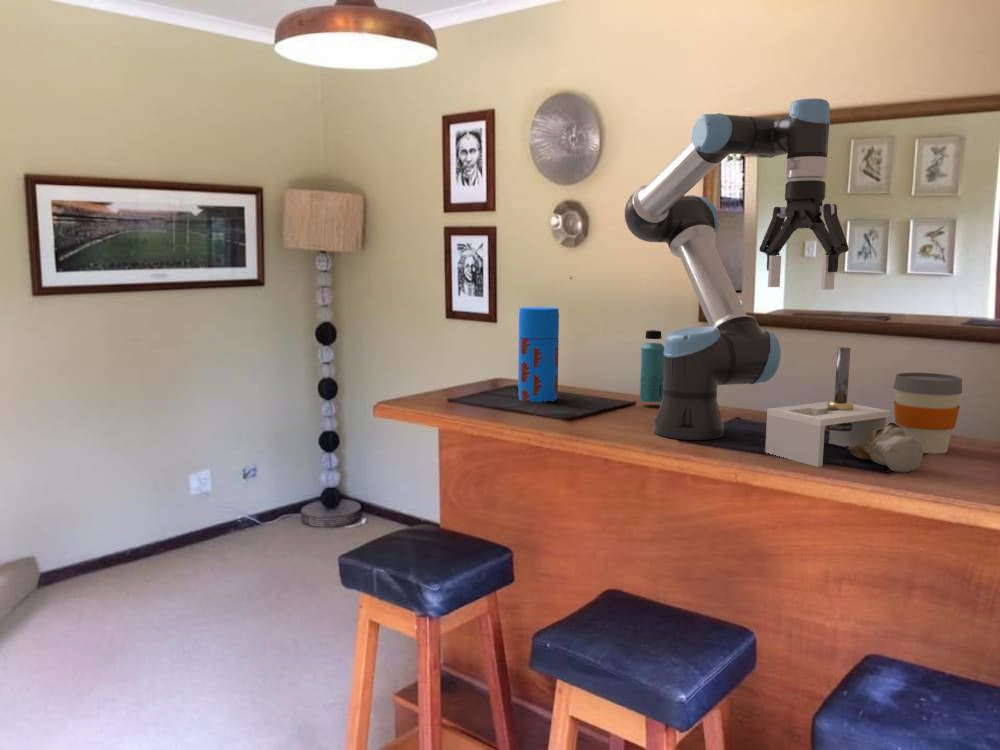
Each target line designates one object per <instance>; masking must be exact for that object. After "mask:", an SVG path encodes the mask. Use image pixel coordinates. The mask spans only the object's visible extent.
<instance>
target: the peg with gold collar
mask: <svg viewBox="0 0 1000 750" xmlns="http://www.w3.org/2000/svg"><path fill="white" fill-rule="evenodd" d="M836 349H837V351H836V363H835V365H836V366H835V367H836V368H835V384H834V398H833V400H828V401H827V402H828V405H827V408H829V409H833V410H835V411H836V410H853V404H855V403H854V402H852V401H849V400H848V392H849V391H848V390H849V379H850V378H849V376H850V364H851V363H850V361H851V347H848V346H838V347H837V348H836ZM825 429H827V430H829V431H830V430H834V431H851V430H852V423H850V422H848V423H840V424H833V425H825Z"/></svg>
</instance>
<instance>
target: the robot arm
mask: <svg viewBox="0 0 1000 750" xmlns="http://www.w3.org/2000/svg"><path fill="white" fill-rule="evenodd" d="M830 109H831V107H830V103H829V101H828V100H826V99H823V98H803V99H796V100H793V101H792V102H791V103H790V105H789V111H788V115H784V116H780V117H765V116H764V117H763V116H761V117H760V116H751V115H750V116H747V115H734V114H723V113H705V114H702V115H700V116H699V117H698V118H697V119H696V121H695V123H694V125H693V127H692V130H691V140H690V142H688V144H686V145H685V146H684V147H683V148H682V150H681V151H680V152H678V154H677V155H676V156H675V157H673V159H672V160H670V162H669V163H667V165H666V166H665V167H664V168H663V169H662V170H661V171H660V172H659V173H658V174H657V175H656V176H655V177H654V178H653V179H652V180H651V181H650V182H649V183H648V184H646V185H642V186H640V187H638V188H637V189H636V190H635V191H634V192H633V193H632V194H631V196H629V198H628V200H627V203H626V204H625V207H624V220H625V223H626V226H627V228H628V230H629V231H630V232H631V234H632V235H633V236H634V237H636V238H637V239H639V240H641V241H644V242H647V243H666V244H667V245H668V248H669V250H670V252H671V254H672V256H675V257H677V258H680V261H681V263H682V266H683V268H684V270H685V272H686V274H687V277H688V279H689V282H690V283H691V286H692V288H693V290H694V293H695V295H696V298H697V300H698V303H699V305H700V307H701V309H702V312H703V314H704V316H705V319H706V321H707V324H708V326H699V327H696V326H693V327H692V326H691V327H685V328H680V329H676V330H673V331H672V330H671V332H669V333H668V334H667V335H666V337H665V340H664V347H665V348H664V383H663V399H662V402H660V406H659V409H658V413H657V416H656V418H655V420H654V421H653V423H654V424H653V433H655V434H656V435H658V436H660V437H661V436H662V437H665V438H669V439H670V438H671V439H677V440H688V441H689V440H691V441H703V440H705V441H706V440H714V439H719V438H721V437H722V438H723V436H724V430H725V429H724V428H725V427H724V422H723V421H722V416H721V412H720V408H719V404H718V386H729V385H731V386H732V385H746V384H749V385H754V384H759V383H760V384H761V383H762V384H763V383H765V382H768V381H769V380H771V379H772V378H773V377H774V376H775V375H776V373H777V371H778V369H779V367H780V360H781V355H782V354H781V353H782V352H781V350H782V349H781V344H780V341H779V339H778V337H777V336H776V335H775V333H773V332H770V331H769V330H764V331H762V329H761V327H760V325H759V322H758V320H757V319H756V318H755V316H752V315H749V314H748V315H747V313H746V311H745V308H743V304H742V303H741V300H740V298H739V296H738V293H737V292H736V289H735V288H734V284H733V283H732V280H731V278H730V276H729V274H728V272H727V270H726V267H725V265H724V263H723V261H722V259H721V257H720V254H719V253H718V250H717V248H716V246H715V243H714V241H715V240H716V237H717V236H716V235H717V233H718V230H719V224H720V223H719V221H718V220H719V213H718V211H717V208H716V206H715V204H714V203H713V201H711V200H710V199H708V198H707V197H704V196H698V195H695V194H692V195H691V194H689V195H686V194H687V193H688V192H689V191H691V190H692V189H693V188H694V187H695V186H696V185H697V184H698V183H699V182H700V181H701V180H702V179H703V178H704V177H706V176H707V175H708V174H709V173H710V172H711V171H712V170H713V169H714V168H716V167H717V166H718V165H719V164H720V163H722V161H724V159H726V158H727V157H728V156H730V155H733V154H734V155H750V156H752V155H753V156H755V157H756V158H761V159H762V158H769V159H771V158H775V157H777V156H783V155H786V175H785V179H786V180H788V182H786V184H785V188H784V189H785V191H784V200H785V201H786V203H787V204H786V206H775V207H774V208H773V212H772V218H771V221H770V223H769V224H768V228H767V230H766V232H765V233H764V234H765V235H764V236H763V238H762V242H761V244H760V246H759V252H760V253H764V254H765V255H766V271H768V275H767V277H768V278H767V287H768V288H781V274H782V273H781V270H782V269H781V268H782V255H781V254H780V252H781V251H782V249H783V247H784V246H786V245H785V244H786V243H787V242H788V240H789V239H790V238H791V237H792V235H793V233H794V232H796V231H797V230H798V229H809V230H811V231H812V232H813V234H814V235H815V237H816V239H817V241H819V243H820V245H821V247H822V249H824V251H825V253H824V255H822V271H821V286H820V290H822V291H823V290H834V289H835V275H836V273H837V272H838V270H839V258H840V255H841V254H843V253H847V252H849V245H848V241H847V239H846V236H845V233H844V230H843V228H842V225H841V222H840V220H839V217H838V206H837V204H835V203H825V204H824V205H823V201H825V198H826V187H827V186H826V184H827V183H826V181H824V180H825V179H826V178H827V169H828V149H829V135H830V124H831V120H830V119H831V117H830V113H831V111H830ZM822 216H823V218H822Z"/></svg>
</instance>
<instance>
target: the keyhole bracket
mask: <svg viewBox="0 0 1000 750" xmlns="http://www.w3.org/2000/svg"><path fill="white" fill-rule="evenodd" d="M827 405H828V401H823V402H822V401H820V402H815V403H814V402H813V403H805V404H803V403H802V404H798V405H788V406H786V405H785V406H781V407H780V406H779V407H771V408H770V407H769V408H767V409H766V432H765V446H764V447H765V449H764V453H765V452H766V453H765V454H768V453H769V455H772V454H773V455H772V456H775V455H776V456H775V457H779V456H780V458H783V457H784V458H783V459H786V458H787V460H790V461H794V462H799V463H801V464H806V465H809V466H813V467H817V468H820V467H823V464H824V463H823V461H824V460H823V459H824V446H825V445H824V444H825V430H826V425H833V424H840V423H848V422H850V423H852V430H851V431H834V430H829V435H828V436H829V437H828V438H829V439H828V444H831V445H836V446H840V447H844V448H846V447H845V446H852V447H855V446H858V445H866V442H867V440H868V437H869V435H870V434H871V432H872V431H873V430H875V429H877V428H884V427H887V426H888V424H889V423H891V410H889V409H883V408H877V407H871V406H867V405H866V406H865V405H862V404H861V405H860V404H855V403H854V404H853V410H836V411H835V410H833V409H829V408H827Z"/></svg>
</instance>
